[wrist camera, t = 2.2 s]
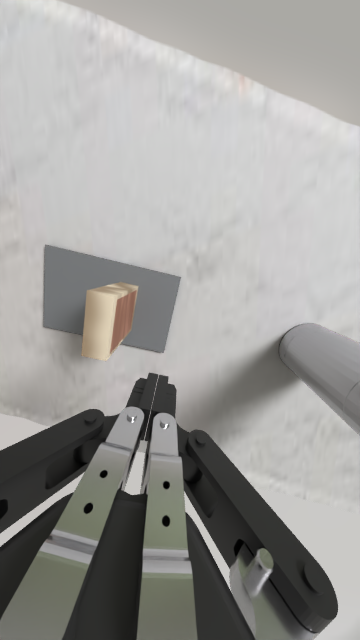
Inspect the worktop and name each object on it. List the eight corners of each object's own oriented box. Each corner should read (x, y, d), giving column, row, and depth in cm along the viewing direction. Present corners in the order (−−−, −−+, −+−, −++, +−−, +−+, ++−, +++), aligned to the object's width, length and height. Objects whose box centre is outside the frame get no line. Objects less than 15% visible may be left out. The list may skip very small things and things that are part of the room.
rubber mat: (180, 277, 30) (180, 277, 30) (163, 351, 34) (163, 352, 34) (47, 245, 29) (45, 244, 29) (45, 325, 33) (43, 326, 33)
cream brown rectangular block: (138, 286, 30) (114, 296, 20) (131, 330, 32) (106, 361, 22) (120, 281, 30) (86, 290, 19) (114, 326, 32) (81, 355, 22)
